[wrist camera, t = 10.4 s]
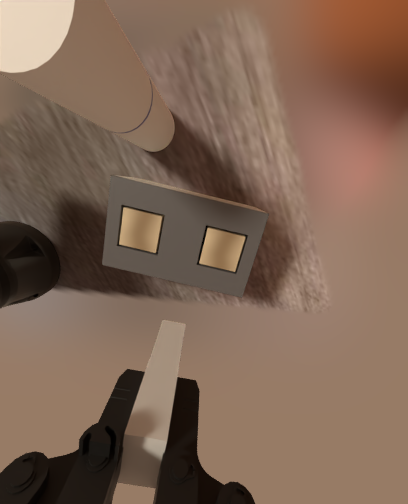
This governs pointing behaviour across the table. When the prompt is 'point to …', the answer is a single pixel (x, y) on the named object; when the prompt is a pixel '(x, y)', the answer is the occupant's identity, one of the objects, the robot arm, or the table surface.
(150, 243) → the peg
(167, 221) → the plinth
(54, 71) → the cylindrical container
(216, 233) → the peg
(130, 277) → the table surface
